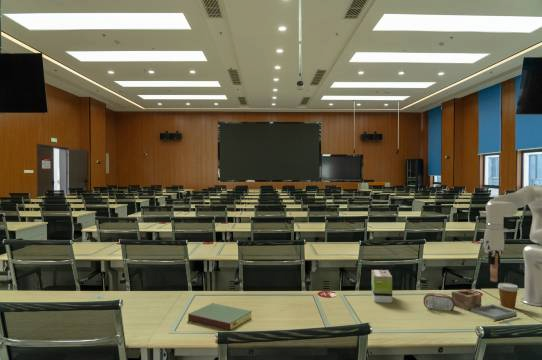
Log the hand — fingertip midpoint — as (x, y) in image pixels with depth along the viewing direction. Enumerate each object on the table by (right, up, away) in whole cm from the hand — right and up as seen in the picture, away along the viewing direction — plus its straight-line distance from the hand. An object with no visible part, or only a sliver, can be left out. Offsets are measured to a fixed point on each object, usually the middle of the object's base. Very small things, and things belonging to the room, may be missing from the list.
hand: (494, 263), depth 204 cm
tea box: (-49, -26, +27) cm, 61 cm away
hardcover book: (-135, -26, -7) cm, 138 cm away
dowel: (0, -9, 0) cm, 9 cm away
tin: (-25, -26, +7) cm, 37 cm away
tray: (0, -26, +1) cm, 26 cm away
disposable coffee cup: (+14, -26, +12) cm, 32 cm away
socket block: (-9, -26, +11) cm, 29 cm away
